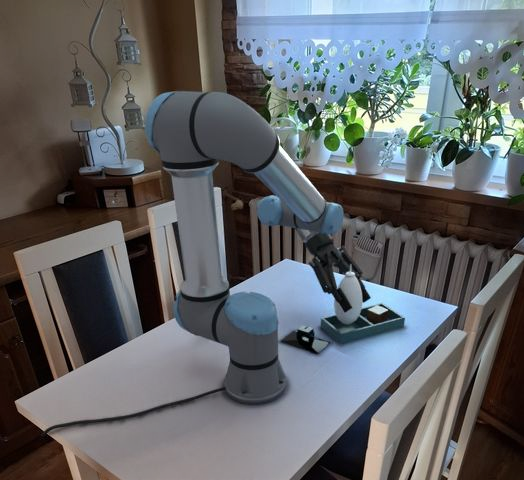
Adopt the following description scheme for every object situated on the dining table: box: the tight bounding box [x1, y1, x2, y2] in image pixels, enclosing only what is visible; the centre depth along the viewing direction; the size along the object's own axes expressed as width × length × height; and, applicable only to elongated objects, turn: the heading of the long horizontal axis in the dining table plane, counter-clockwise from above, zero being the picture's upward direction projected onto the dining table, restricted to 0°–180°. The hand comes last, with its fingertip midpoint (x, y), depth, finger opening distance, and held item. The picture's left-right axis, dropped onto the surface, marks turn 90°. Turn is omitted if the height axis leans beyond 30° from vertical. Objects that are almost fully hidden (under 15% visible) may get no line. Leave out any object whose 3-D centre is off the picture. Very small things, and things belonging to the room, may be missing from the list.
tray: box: [320, 302, 406, 345], centre depth 143 cm, size 22×11×3 cm, turn 114°
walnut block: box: [367, 305, 389, 325], centre depth 145 cm, size 4×4×4 cm
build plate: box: [280, 324, 331, 355], centre depth 137 cm, size 12×7×5 cm, turn 54°
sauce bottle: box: [333, 264, 363, 324], centre depth 136 cm, size 8×8×18 cm
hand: (358, 305), depth 135 cm, fingers closed on sauce bottle, 8 cm apart
